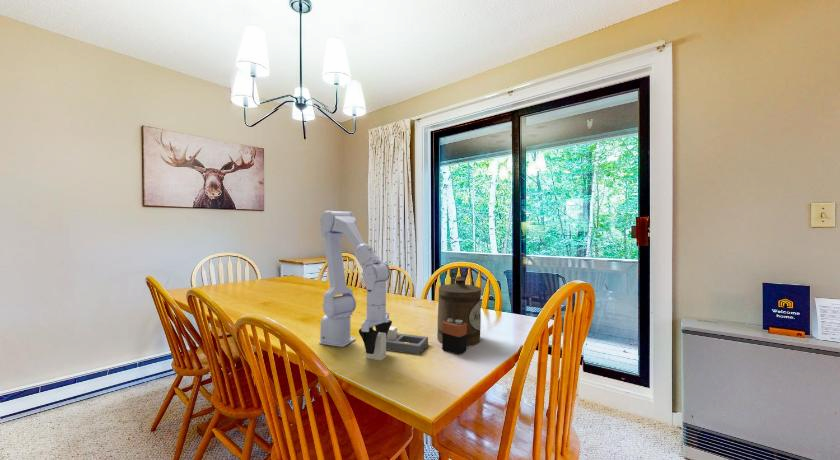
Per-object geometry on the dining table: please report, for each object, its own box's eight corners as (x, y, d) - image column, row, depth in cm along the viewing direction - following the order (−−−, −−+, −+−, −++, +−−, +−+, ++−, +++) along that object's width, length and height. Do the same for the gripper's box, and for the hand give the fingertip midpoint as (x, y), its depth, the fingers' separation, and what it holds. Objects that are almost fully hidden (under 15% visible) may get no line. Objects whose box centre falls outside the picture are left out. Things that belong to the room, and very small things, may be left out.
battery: (459, 355, 103) (459, 323, 103) (441, 350, 107) (441, 318, 107) (467, 351, 106) (467, 320, 106) (449, 346, 111) (450, 316, 110)
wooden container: (483, 347, 110) (484, 280, 109) (438, 346, 110) (438, 279, 110) (476, 333, 125) (477, 273, 124) (436, 332, 125) (437, 273, 125)
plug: (365, 358, 100) (365, 334, 100) (371, 353, 104) (371, 331, 104) (380, 360, 99) (381, 336, 99) (385, 356, 102) (386, 333, 102)
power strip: (369, 347, 109) (369, 330, 109) (381, 338, 118) (381, 322, 118) (419, 354, 104) (419, 336, 104) (428, 344, 112) (428, 328, 112)
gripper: (377, 310, 93) (377, 359, 93) (398, 299, 106) (397, 342, 107) (355, 308, 95) (354, 356, 95) (377, 297, 109) (377, 339, 109)
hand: (375, 348), depth 101 cm, fingers open, 7 cm apart
